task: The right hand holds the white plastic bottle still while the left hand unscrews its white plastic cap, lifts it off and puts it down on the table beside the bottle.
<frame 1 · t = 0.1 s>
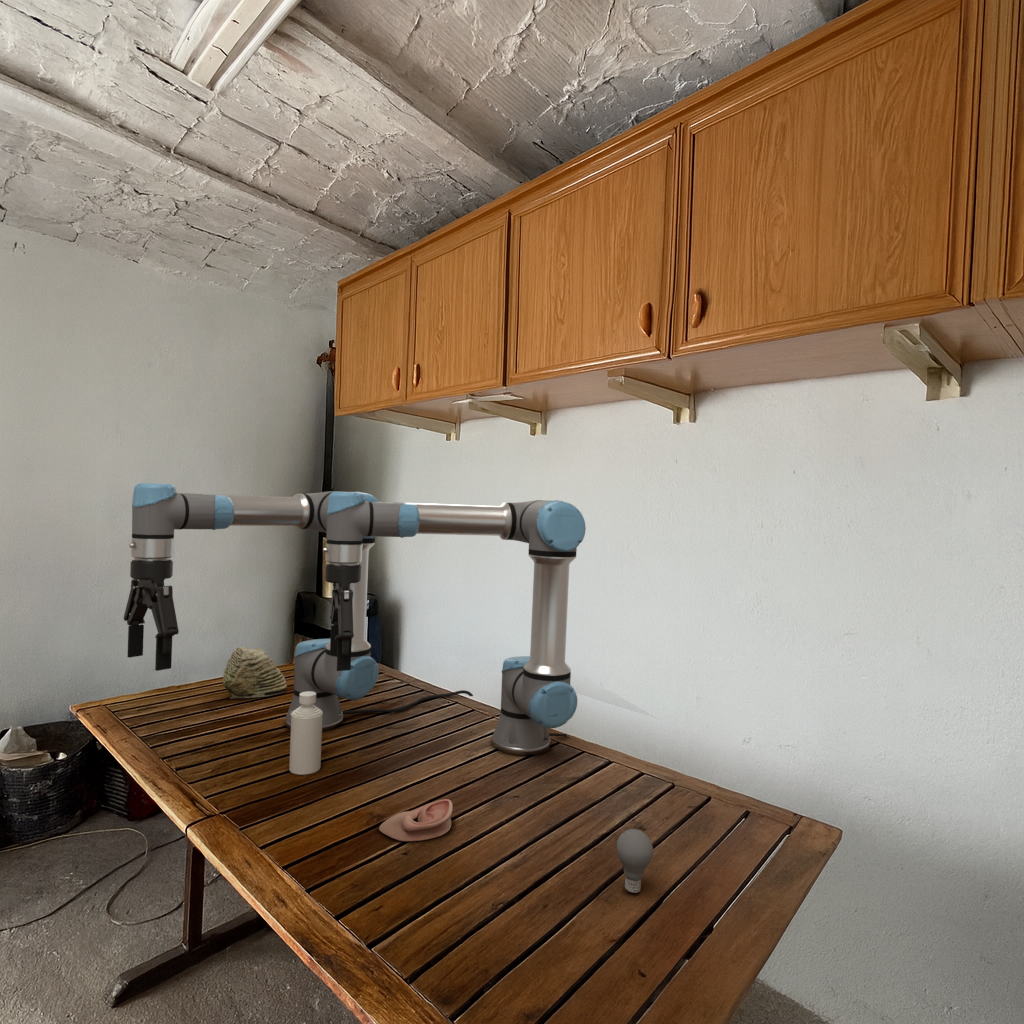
left hand: (148, 662, 129), 28 cm above the table, tool pointing down, fingers open, 13 cm apart
right hand: (339, 662, 136), 28 cm above the table, tool pointing down, fingers open, 13 cm apart
fossil: (254, 694, 198), on the table
bottle: (305, 768, 147), on the table
light bulb: (632, 891, 106), on the table
anatomical model: (416, 827, 123), on the table
cap: (307, 695, 147), point 17 cm above the table, screwed on, not yet turned
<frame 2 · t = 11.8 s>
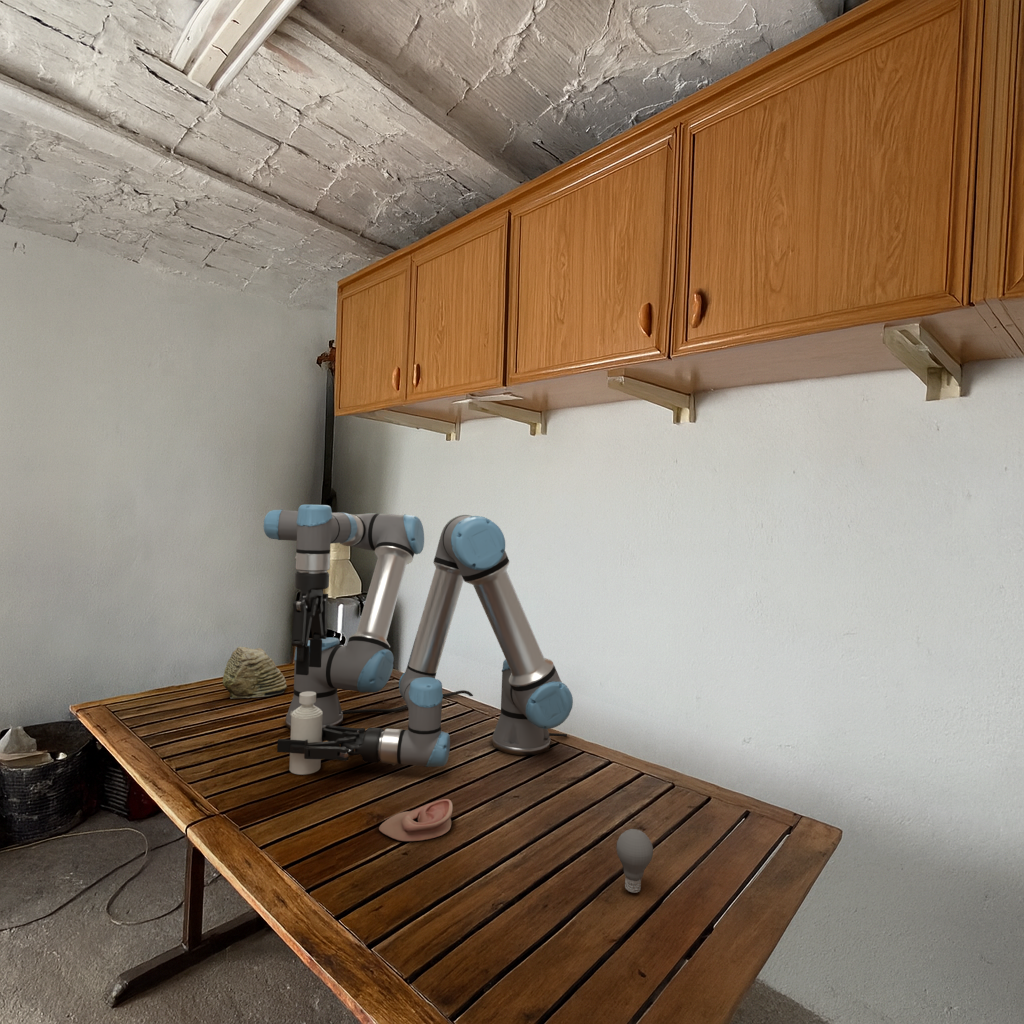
left hand: (308, 670, 147), 23 cm above the table, tool pointing down, fingers open, 6 cm apart
right hand: (285, 739, 147), 7 cm above the table, tool horizontal, fingers closed on bottle, 7 cm apart
bottle: (305, 768, 147), on the table, touching right hand
everything else where it was.
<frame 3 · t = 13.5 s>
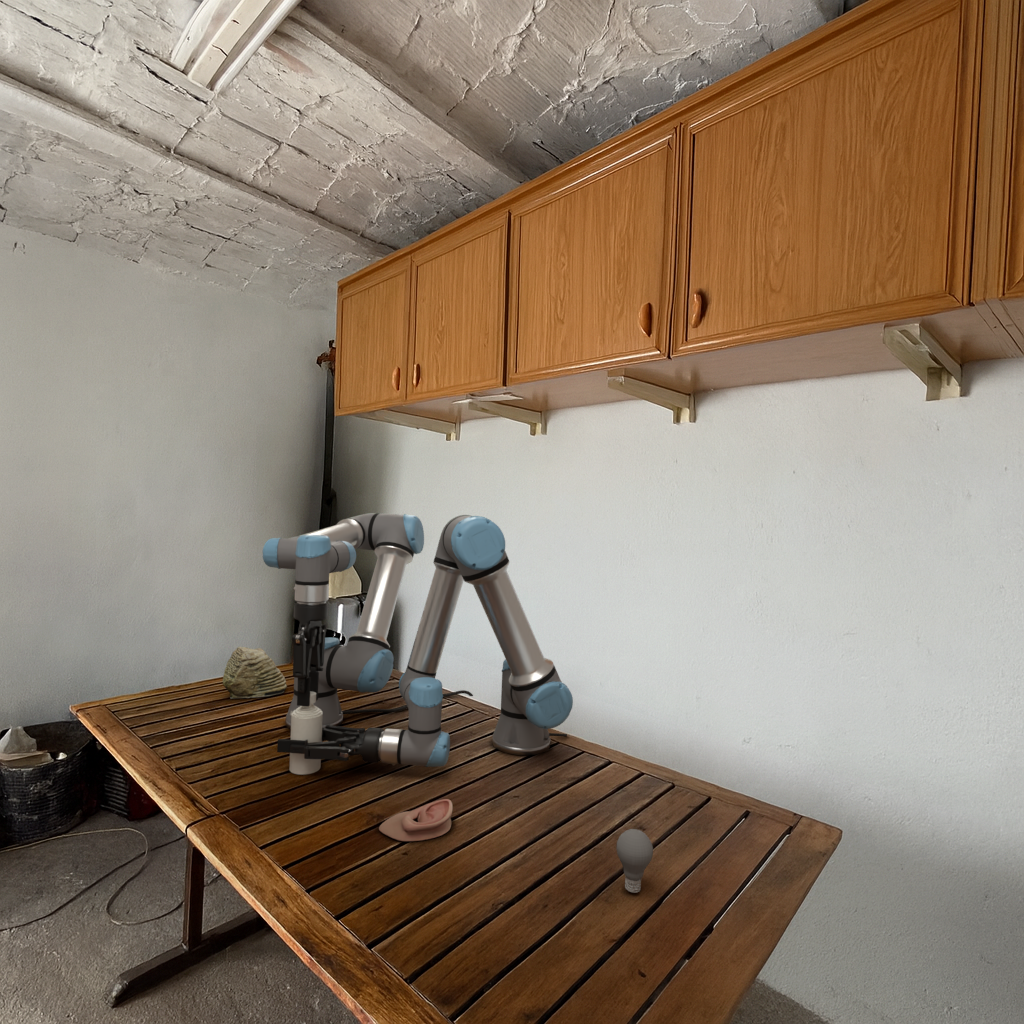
left hand: (307, 702, 147), 15 cm above the table, tool pointing down, fingers closed on cap, 4 cm apart
right hand: (285, 739, 147), 6 cm above the table, tool horizontal, fingers closed on bottle, 7 cm apart
bottle: (305, 768, 147), on the table, touching right hand
cap: (307, 695, 147), point 17 cm above the table, screwed on, not yet turned, touching left hand
everything else where it was.
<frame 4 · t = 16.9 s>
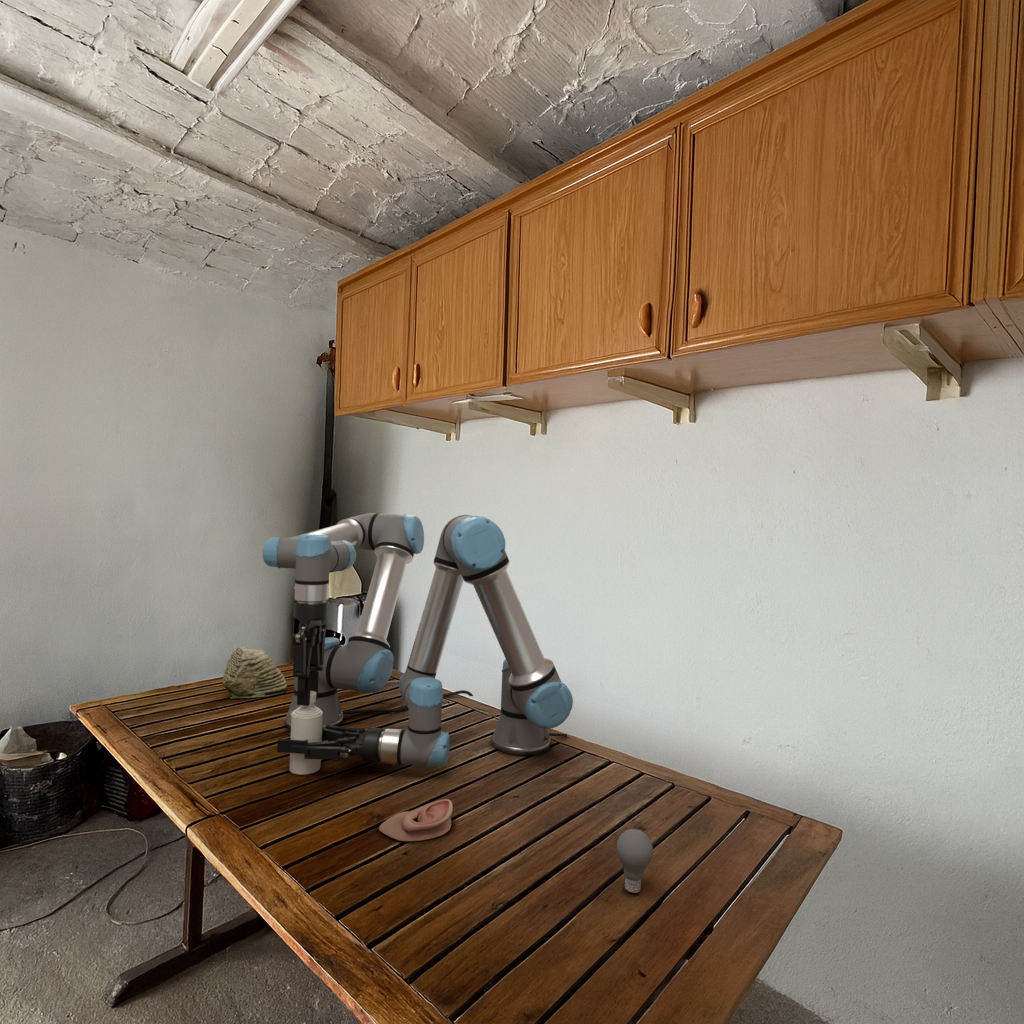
left hand: (307, 701, 147), 16 cm above the table, tool pointing down, fingers closed on cap, 4 cm apart
right hand: (285, 739, 147), 6 cm above the table, tool horizontal, fingers closed on bottle, 7 cm apart
bottle: (305, 768, 147), on the table, touching right hand
cap: (307, 694, 147), point 17 cm above the table, turned 114° so far, risen 0.1 cm, still on its thread, touching left hand
everything else where it was.
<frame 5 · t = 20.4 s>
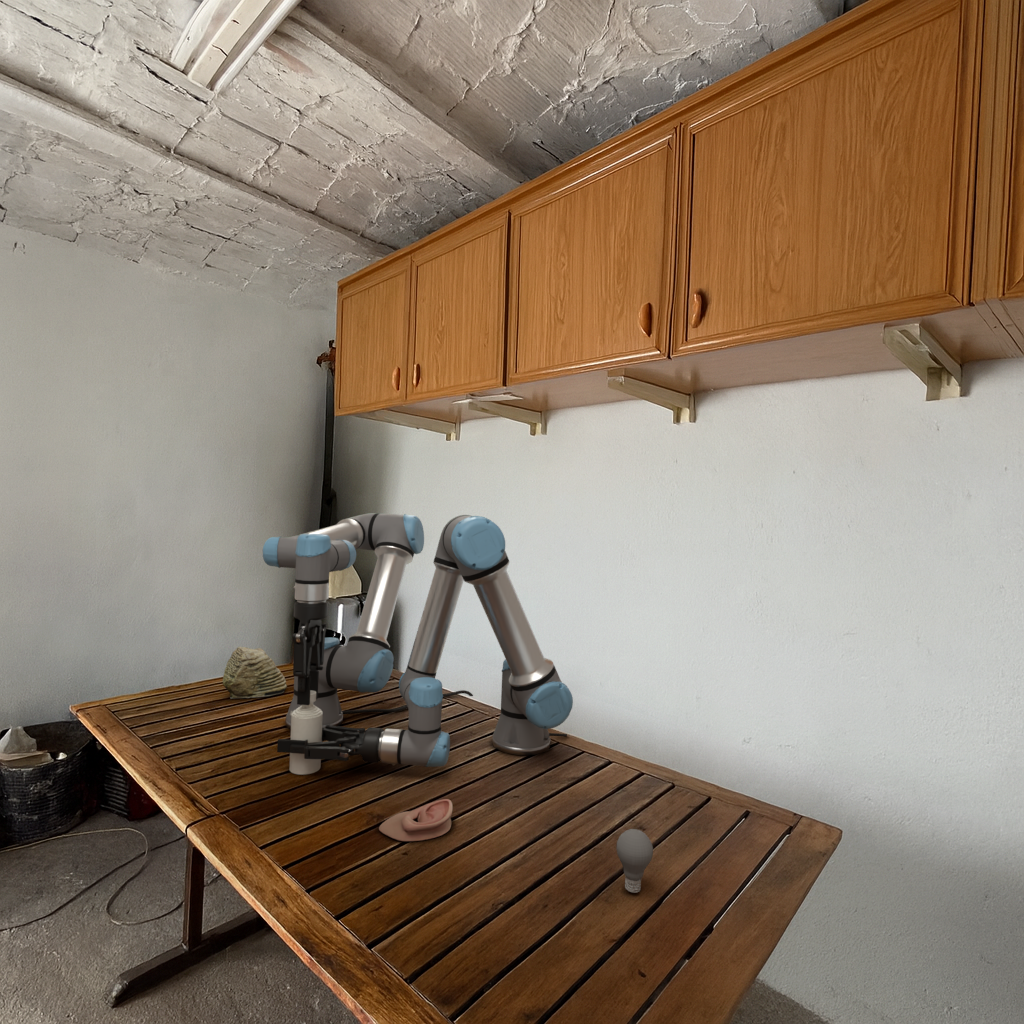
left hand: (307, 701, 147), 16 cm above the table, tool pointing down, fingers closed on cap, 4 cm apart
right hand: (285, 739, 147), 6 cm above the table, tool horizontal, fingers closed on bottle, 7 cm apart
bottle: (305, 768, 147), on the table, touching right hand
cap: (307, 693, 147), point 17 cm above the table, turned 227° so far, risen 0.3 cm, still on its thread, touching left hand
everything else where it was.
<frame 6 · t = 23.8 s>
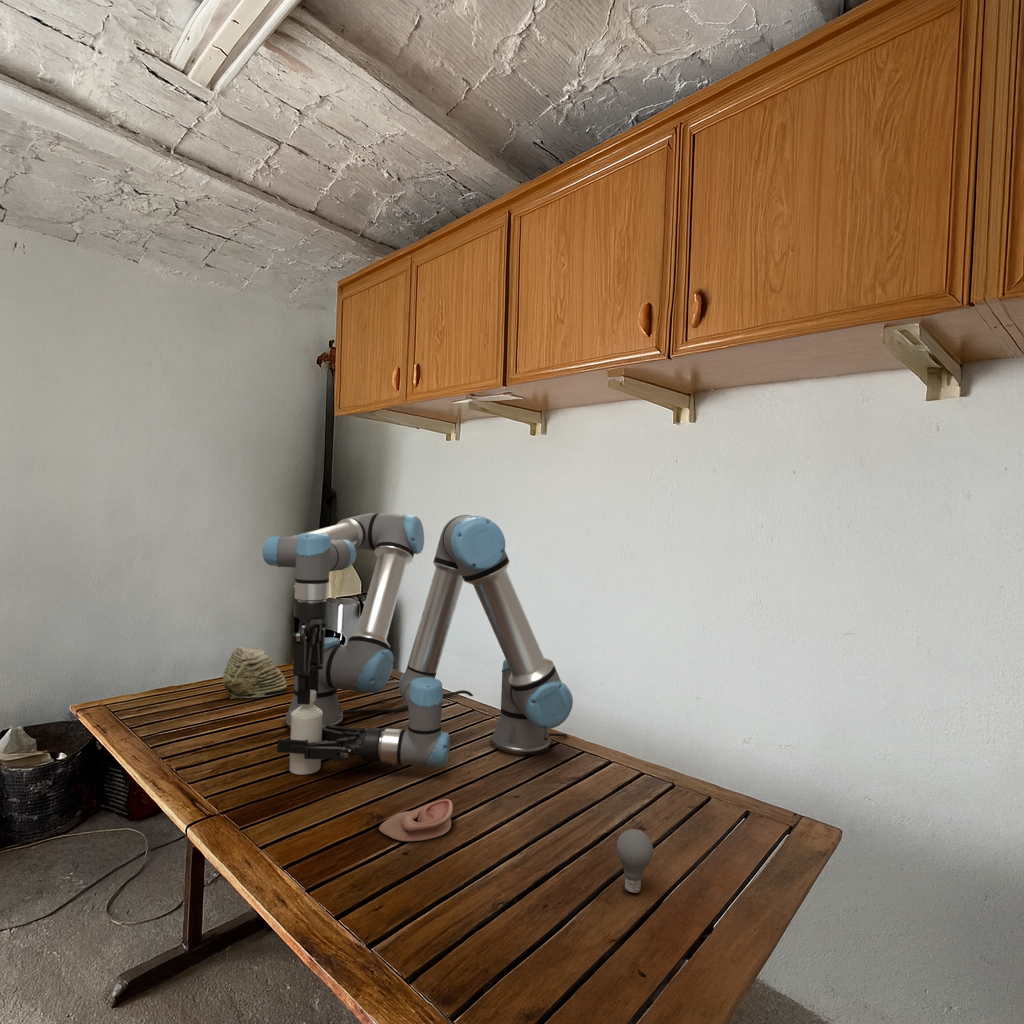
left hand: (307, 700, 147), 16 cm above the table, tool pointing down, fingers closed on cap, 4 cm apart
right hand: (285, 739, 147), 6 cm above the table, tool horizontal, fingers closed on bottle, 7 cm apart
bottle: (305, 768, 147), on the table, touching right hand
cap: (307, 693, 147), point 18 cm above the table, turned 341° so far, risen 0.4 cm, still on its thread, touching left hand
everything else where it was.
when the left hand's fingers open (1 cm above the table, at t = 30.6 s): cap stays where it is, point 2 cm above the table.
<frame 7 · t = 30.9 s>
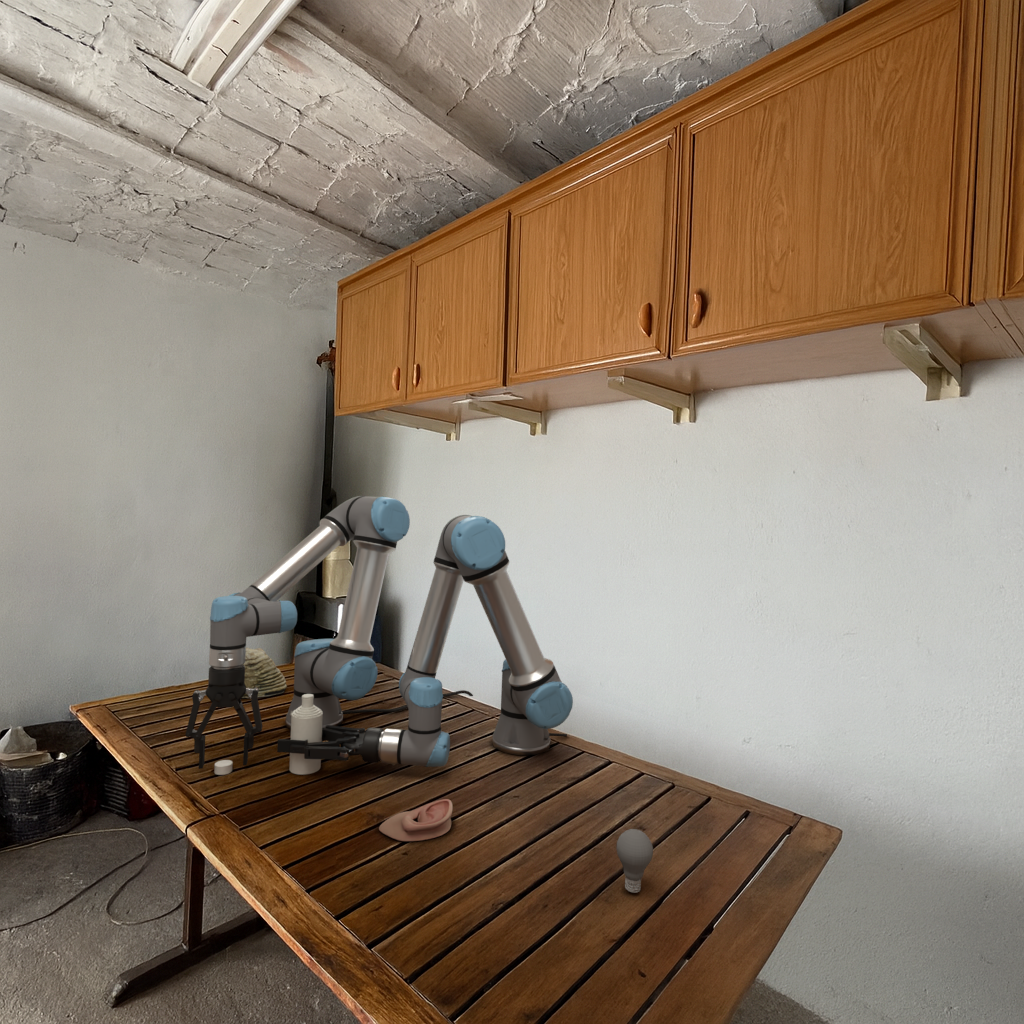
left hand: (223, 764, 144), 2 cm above the table, tool pointing down, fingers open, 8 cm apart
right hand: (285, 739, 147), 6 cm above the table, tool horizontal, fingers closed on bottle, 7 cm apart
bottle: (305, 768, 147), on the table, touching right hand
cap: (223, 764, 144), point 2 cm above the table, off its thread
everything else where it was.
when the right hand's fingers open (6 cm above the table, at t = 31.8 s): bottle stays where it is, on the table.
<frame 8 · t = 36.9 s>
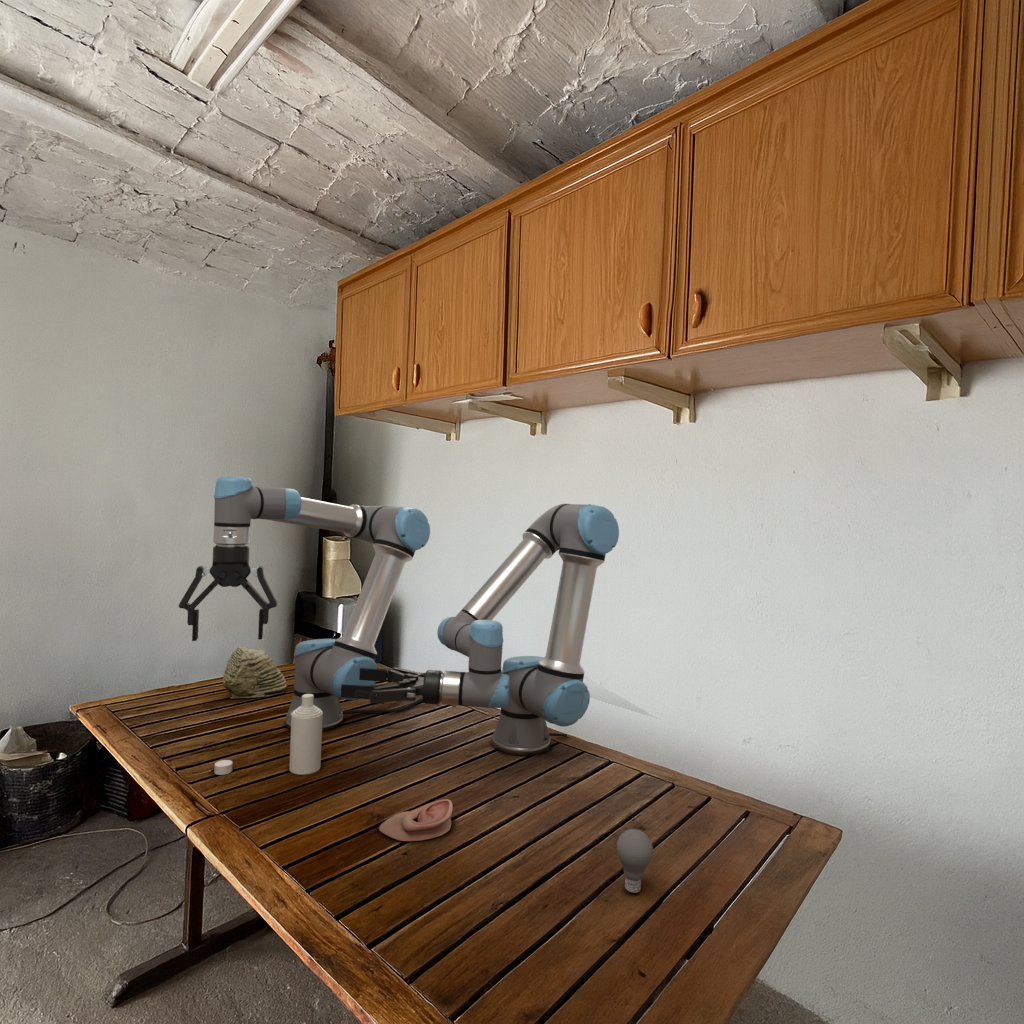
left hand: (228, 639, 143), 30 cm above the table, tool pointing down, fingers open, 13 cm apart
right hand: (350, 682, 146), 21 cm above the table, tool horizontal, fingers open, 13 cm apart
bottle: (305, 768, 147), on the table
everything else where it was.
at the end: cap came off its thread; cap point 1.6 cm above the table; the left hand is holding nothing; the right hand is holding nothing; bottle tilted 0°; bottle moved 0.0 cm from its start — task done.
